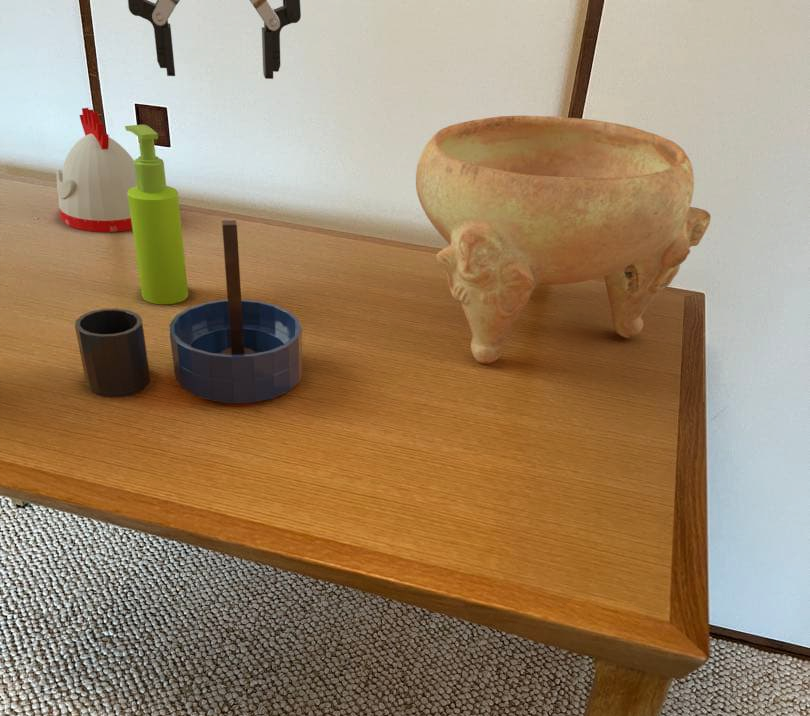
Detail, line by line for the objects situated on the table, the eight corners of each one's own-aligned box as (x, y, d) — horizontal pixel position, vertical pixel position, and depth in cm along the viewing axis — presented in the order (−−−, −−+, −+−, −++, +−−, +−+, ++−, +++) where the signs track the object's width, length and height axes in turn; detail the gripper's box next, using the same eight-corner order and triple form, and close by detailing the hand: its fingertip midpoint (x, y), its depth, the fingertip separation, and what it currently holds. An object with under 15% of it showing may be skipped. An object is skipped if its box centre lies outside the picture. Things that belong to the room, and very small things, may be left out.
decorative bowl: (589, 266, 126) (625, 101, 111) (709, 376, 100) (777, 180, 85) (374, 273, 117) (383, 96, 103) (445, 395, 92) (470, 182, 77)
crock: (85, 398, 86) (72, 337, 81) (88, 368, 91) (77, 309, 86) (150, 395, 87) (141, 334, 83) (150, 365, 92) (141, 307, 88)
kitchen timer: (132, 197, 135) (118, 96, 125) (169, 223, 127) (157, 117, 117) (47, 209, 128) (26, 103, 118) (81, 237, 120) (61, 126, 110)
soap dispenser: (173, 280, 111) (155, 119, 98) (195, 299, 106) (179, 133, 94) (131, 288, 108) (107, 123, 95) (153, 308, 104) (130, 138, 91)
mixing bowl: (177, 411, 85) (170, 359, 81) (174, 349, 95) (168, 301, 92) (310, 404, 88) (309, 353, 84) (293, 344, 99) (292, 297, 95)
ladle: (221, 380, 90) (209, 229, 79) (220, 363, 93) (208, 215, 82) (258, 379, 90) (251, 229, 80) (255, 361, 93) (248, 215, 83)
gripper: (291, -155, 67) (294, 70, 77) (109, -172, 64) (137, 64, 74) (304, -154, 61) (305, 88, 72) (105, -173, 58) (136, 82, 68)
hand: (220, 75), depth 73 cm, fingers open, 8 cm apart
